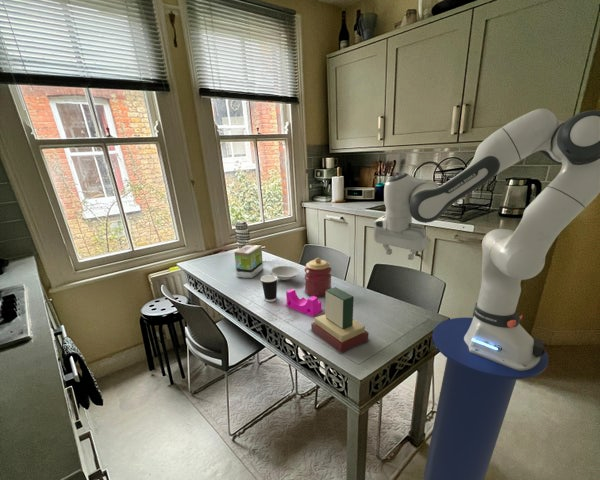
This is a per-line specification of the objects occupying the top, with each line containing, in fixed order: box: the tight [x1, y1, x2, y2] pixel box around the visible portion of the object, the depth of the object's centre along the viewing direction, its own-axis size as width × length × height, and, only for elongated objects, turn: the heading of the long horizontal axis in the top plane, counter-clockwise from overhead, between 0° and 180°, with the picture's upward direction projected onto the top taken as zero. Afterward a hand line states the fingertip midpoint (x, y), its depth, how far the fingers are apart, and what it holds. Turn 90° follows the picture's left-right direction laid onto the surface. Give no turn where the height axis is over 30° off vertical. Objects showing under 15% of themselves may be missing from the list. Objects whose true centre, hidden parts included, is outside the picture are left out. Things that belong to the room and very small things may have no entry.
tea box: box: [234, 244, 264, 279], centre depth 179 cm, size 15×10×15 cm, turn 162°
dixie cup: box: [260, 274, 279, 303], centre depth 148 cm, size 8×8×11 cm
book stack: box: [310, 313, 369, 354], centre depth 119 cm, size 18×13×6 cm
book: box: [325, 286, 355, 329], centre depth 116 cm, size 10×5×12 cm, turn 34°
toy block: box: [285, 288, 323, 317], centre depth 140 cm, size 15×6×8 cm, turn 49°
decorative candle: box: [234, 220, 251, 250], centre depth 197 cm, size 9×9×25 cm
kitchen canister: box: [304, 257, 332, 298], centre depth 153 cm, size 13×13×18 cm
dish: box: [270, 265, 301, 281], centre depth 171 cm, size 18×14×5 cm
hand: (399, 256), depth 119 cm, fingers open, 8 cm apart
